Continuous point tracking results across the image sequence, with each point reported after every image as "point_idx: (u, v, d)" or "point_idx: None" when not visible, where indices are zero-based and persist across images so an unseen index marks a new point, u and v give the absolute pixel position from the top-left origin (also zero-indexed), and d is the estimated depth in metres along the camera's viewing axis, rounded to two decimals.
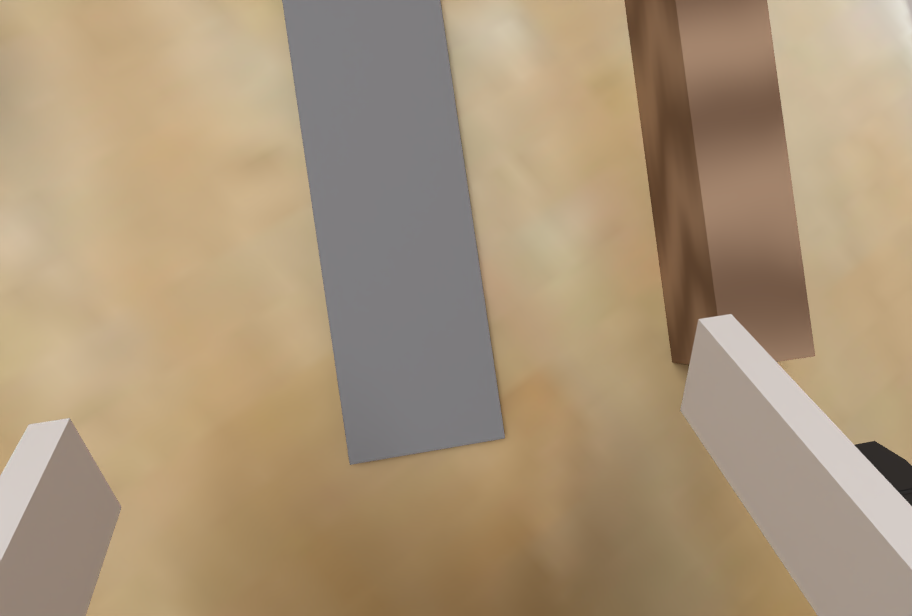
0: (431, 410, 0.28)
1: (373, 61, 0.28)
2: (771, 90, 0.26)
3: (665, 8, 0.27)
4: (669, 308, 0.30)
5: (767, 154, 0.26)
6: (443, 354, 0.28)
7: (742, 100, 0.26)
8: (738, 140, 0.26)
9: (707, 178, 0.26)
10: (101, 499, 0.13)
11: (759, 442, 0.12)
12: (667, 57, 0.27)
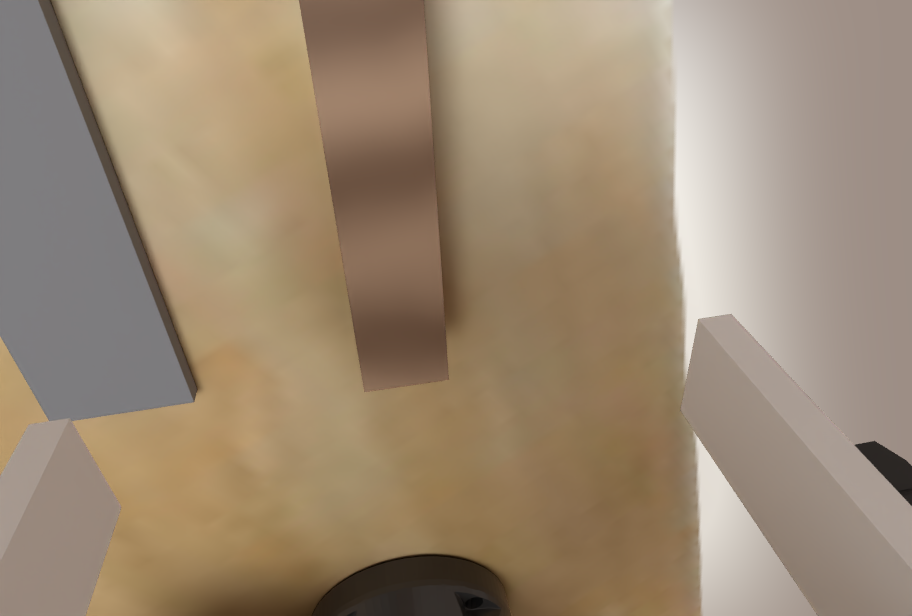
0: (119, 385, 0.31)
1: None
2: (424, 151, 0.23)
3: None
4: None
5: (416, 217, 0.25)
6: (120, 344, 0.30)
7: (390, 163, 0.23)
8: (383, 204, 0.24)
9: (349, 242, 0.25)
10: (101, 499, 0.13)
11: (759, 442, 0.12)
12: None
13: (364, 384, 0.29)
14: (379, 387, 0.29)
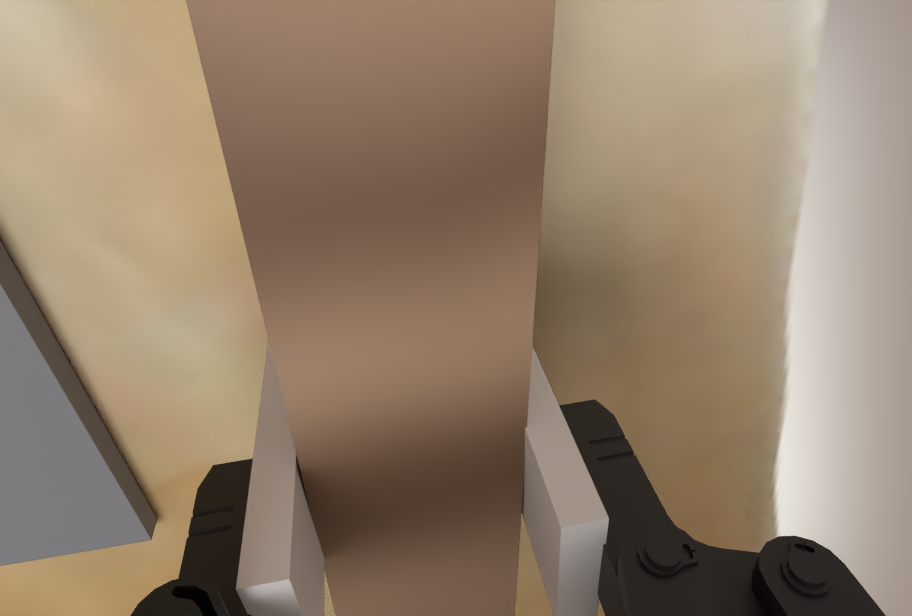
0: (50, 527, 0.23)
1: None
2: (508, 435, 0.11)
3: None
4: None
5: (478, 531, 0.13)
6: (46, 482, 0.22)
7: (435, 458, 0.11)
8: (416, 518, 0.12)
9: (345, 574, 0.13)
10: None
11: None
12: None
13: None
14: None
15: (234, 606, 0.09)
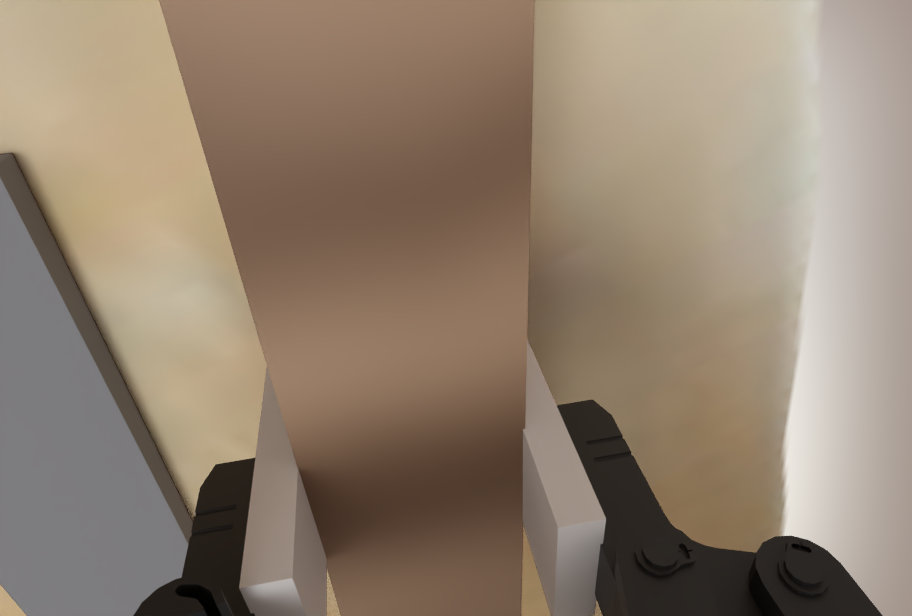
0: None
1: None
2: (506, 431, 0.11)
3: None
4: None
5: (480, 528, 0.12)
6: None
7: (434, 456, 0.11)
8: (417, 517, 0.12)
9: (348, 574, 0.13)
10: None
11: None
12: None
13: None
14: None
15: (237, 605, 0.09)
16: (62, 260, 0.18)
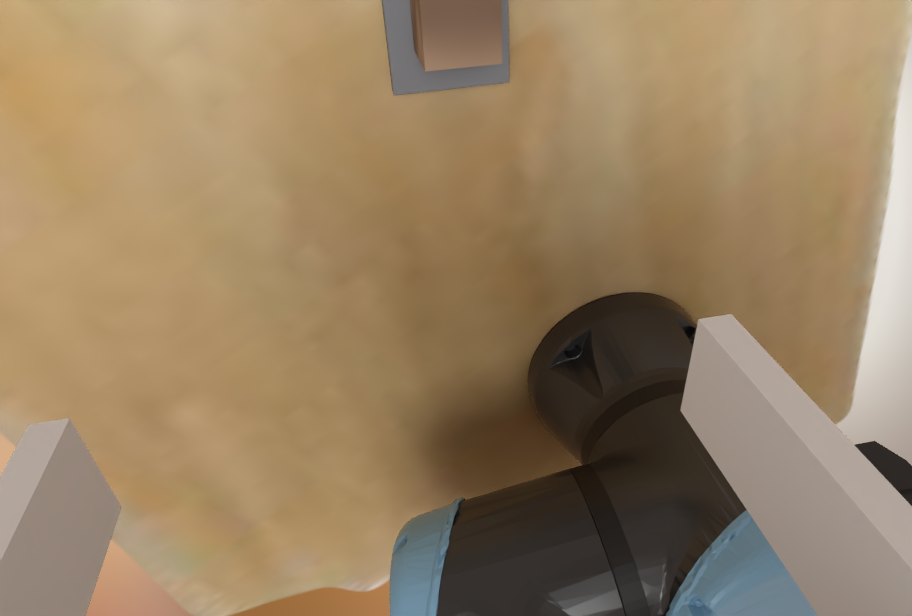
0: None
1: None
2: None
3: None
4: (411, 1, 0.34)
5: None
6: None
7: None
8: None
9: None
10: (101, 499, 0.13)
11: (759, 442, 0.12)
12: None
13: (425, 61, 0.31)
14: (439, 67, 0.32)
15: None
16: None
